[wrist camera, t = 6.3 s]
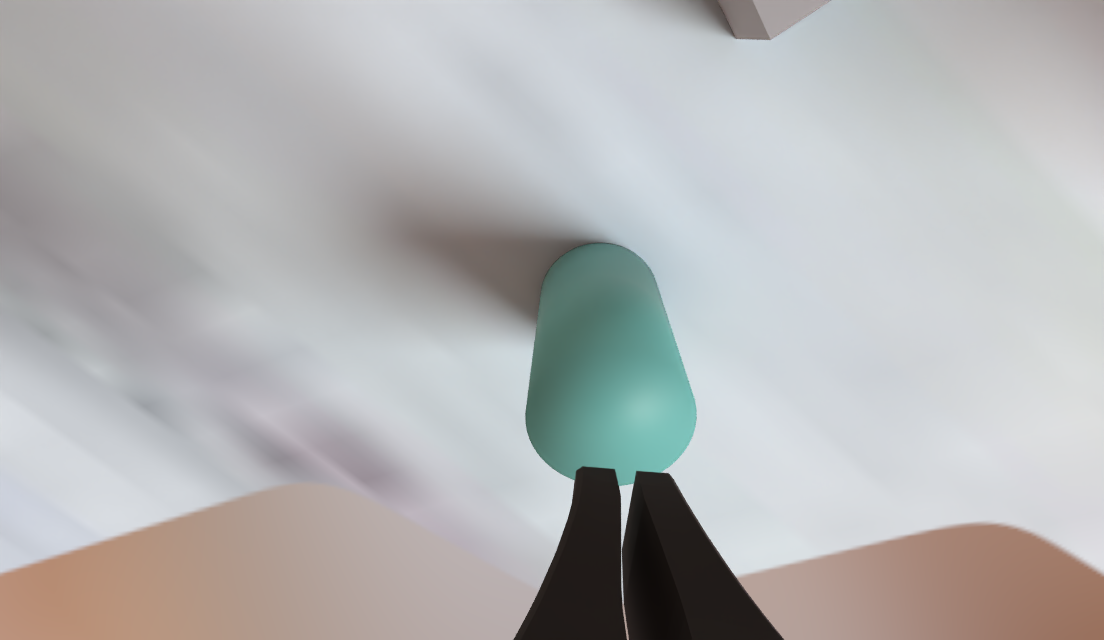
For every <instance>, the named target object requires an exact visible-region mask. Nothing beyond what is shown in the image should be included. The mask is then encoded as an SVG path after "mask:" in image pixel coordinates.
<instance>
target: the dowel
mask: <svg viewBox="0 0 1104 640" xmlns="http://www.w3.org/2000/svg"><path fill="white" fill-rule="evenodd" d="M525 416H526V428H527V433H528V436H529V439H530V441H531V443H532V445H533V447H534V449H535V450H536V452H537V453H538V454H539V456H540V457H541V458H542V459H543V460H544V461H545V462H546V463H547V464H548V465H549V466H550V467H552V468H553V469H554V470H556V471H557V472H559V473H560V474H562V475H564V476H566V477H568V478H570V479H573V480H575V475H576V470H578V469H579V468H581V467H582V466H586V467H598V468H610V469H615V472H616V476H617V480H618V485H619V486H622V485H628V484H633V483H634V480H635V475H636V471H646V472H658V473H661V472H662V471H664V470H665V469H666V468H668V467H669V466H670V465H672V464H673V463H674V462H675V461H676V460H677V459H678V458H679V457H680V456H681V455H682V453H683V452H684V451H685V449H686V448H687V446H688V445H689V442H690V440H691V438H692V436H693V433H694V430H695V425H696V418H697V417H696V404H695V399H694V396H693V393H692V390H691V387H690V384H689V381H688V378H687V375H686V372H685V369H684V365H683V362H682V359H681V356H680V353H679V350H678V347H677V344H676V341H675V338H674V335H673V332H672V329H671V326H670V323H669V320H668V317H667V314H666V311H665V308H664V305H663V302H662V298H661V295H660V292H659V289H658V286H657V283H656V280H655V278H654V275H653V273H652V271H651V269H650V268H649V267H648V265H647V264H646V263H645V262H644V261H643V260H642V259H641V258H640V257H639V256H638V255H636V254H635V253H633V252H632V251H630V250H628V249H626V248H624V247H621V246H618V245H614V244H608V243H594V244H587V245H583V246H580V247H577V248H574V249H572V250H571V251H569V252H567V253H565V254H564V255H563V256H561V257H560V258H559V259H558V260H557V261H556V262H555V263H554V264H553V265H552V266H551V268H550V269H549V271H548V272H547V274H546V276H545V278H544V281H543V284H542V288H541V295H540V303H539V311H538V319H537V327H536V334H535V342H534V350H533V358H532V366H531V374H530V382H529V390H528V398H527V405H526V413H525Z"/></svg>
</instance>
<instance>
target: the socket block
mask: <svg viewBox="0 0 1104 640" xmlns="http://www.w3.org/2000/svg"><path fill="white" fill-rule="evenodd" d="M829 1H831V0H718V2H719V4H720V6H721V8H722V11H723V13H724V15H725V17H726V19H727V21H728V23H729V25H730V27H731V30H732V32H733V34H734V36H735V38H736V39H757V40H771V39H773V38H774V37H776V36H777V35H779V34H780V33H782V32H783V31H785V30H787V29H788V28H790V27H791V26H793V25H794V24H796V23H797V22H799V21H800V20H802V19H803V18H805V17H806V16H808V15H810V14H811V13H813V12H814V11H816V10H817V9H819V8H820V7H822V6H823V5H825V4H826V3H828V2H829Z"/></svg>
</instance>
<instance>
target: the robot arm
mask: <svg viewBox="0 0 1104 640" xmlns="http://www.w3.org/2000/svg"><path fill="white" fill-rule="evenodd" d="M622 568H623V593H624V607H625V614H626V621H627V628H628V635H629V640H784V639H783V638H782V636H781V635H780V634H779V633H778V632H777V631H776V629H775V628H774V627H773V625H772V624H771V623H770V622H769V620H768V619H767V618H766V617H765V616H764V614H763V613H762V612H761V610H760V609H759V608H758V606H757V605H756V604H755V603H754V601H753V600H752V599H751V597H750V596H749V595H748V593H747V592H746V591H745V589H744V588H743V587H742V585H741V584H740V583H739V581H738V580H737V578H736V577H735V575H734V574H733V573H732V571H731V570H730V568H729V567H728V565H727V564H726V562H725V561H724V560H723V558H722V557H721V555H720V554H719V552H718V551H717V549H716V548H715V546H714V545H713V543H712V542H711V540H710V539H709V537H708V536H707V534H706V533H705V531H704V530H703V528H702V526H701V525H700V523H699V522H698V520H697V518H696V517H695V515H694V514H693V512H692V510H691V509H690V507H689V505H688V504H687V502H686V500H685V498H684V497H683V495H682V493H681V492H680V490H679V488H678V486H677V485H676V483H675V481H674V479H673V478H672V477H671V476H670V474H669V473H658V472H646V471H636V475H635V480H634V486H633V491H632V497H631V502H630V508H629V514H628V519H627V525H626V530H625V536H624V541H623V547H622ZM514 640H627V638H626V630H625V623H624V616H623V609H622V591H621V495H620V490H619V485H618V480H617V476H616V472H615V469H610V468H598V467H586V466H582V467H581V468H579V469H578V470H576V475H575V483H574V491H573V499H572V505H571V509H570V512H569V516H568V520H567V523H566V525H565V528H564V531H563V534H562V537H561V540H560V542H559V545H558V548H557V551H556V553H555V556H554V558H553V560H552V563H551V565H550V567H549V569H548V572H547V574H546V576H545V578H544V581H543V583H542V585H541V587H540V590H539V592H538V594H537V596H536V598H535V600H534V602H533V604H532V606H531V608H530V610H529V612H528V614H527V616H526V618H525V620H524V621H523V623H522V625H521V627H520V629H519V631H518V633H517V634H516V637H515V638H514Z"/></svg>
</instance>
